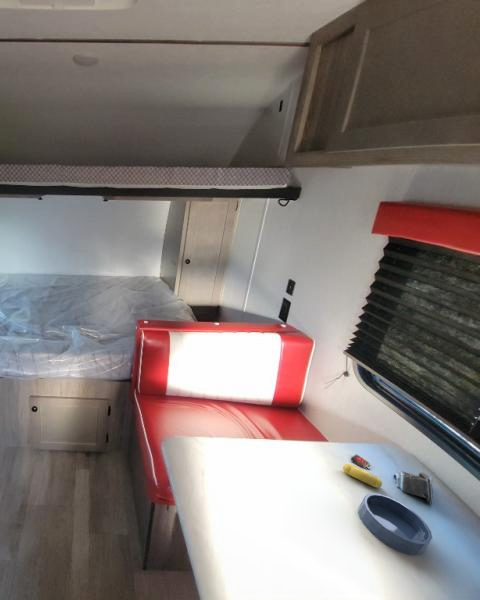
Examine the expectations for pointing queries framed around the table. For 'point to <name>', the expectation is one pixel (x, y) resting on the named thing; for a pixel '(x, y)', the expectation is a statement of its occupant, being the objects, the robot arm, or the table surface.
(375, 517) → the bowl
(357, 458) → the matchbox
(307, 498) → the table surface
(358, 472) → the yellow rounded cylinder
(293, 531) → the table surface
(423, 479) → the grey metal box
